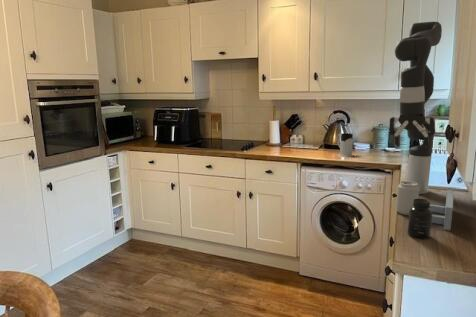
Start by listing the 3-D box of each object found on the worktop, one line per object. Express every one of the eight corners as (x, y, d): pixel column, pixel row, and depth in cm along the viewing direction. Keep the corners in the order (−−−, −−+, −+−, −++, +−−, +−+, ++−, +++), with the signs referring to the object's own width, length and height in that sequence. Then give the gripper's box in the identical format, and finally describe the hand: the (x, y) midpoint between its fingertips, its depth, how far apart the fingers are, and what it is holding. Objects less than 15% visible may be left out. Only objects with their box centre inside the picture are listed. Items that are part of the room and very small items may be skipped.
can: (410, 209, 147) (413, 180, 144) (420, 215, 140) (423, 185, 137) (392, 209, 147) (394, 180, 144) (401, 216, 139) (403, 185, 137)
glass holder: (345, 157, 249) (346, 135, 246) (331, 153, 262) (332, 132, 259) (355, 156, 253) (356, 134, 250) (341, 152, 265) (342, 132, 262)
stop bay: (424, 205, 151) (426, 187, 149) (450, 209, 146) (453, 190, 144) (419, 225, 130) (421, 203, 129) (450, 230, 126) (452, 208, 124)
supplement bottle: (405, 230, 126) (408, 196, 124) (427, 232, 124) (431, 198, 122) (408, 238, 120) (412, 202, 117) (432, 240, 118) (435, 204, 115)
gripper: (437, 97, 123) (436, 145, 127) (392, 99, 131) (392, 143, 136) (434, 101, 117) (432, 150, 121) (387, 102, 126) (387, 148, 130)
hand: (411, 146), depth 129 cm, fingers open, 8 cm apart
